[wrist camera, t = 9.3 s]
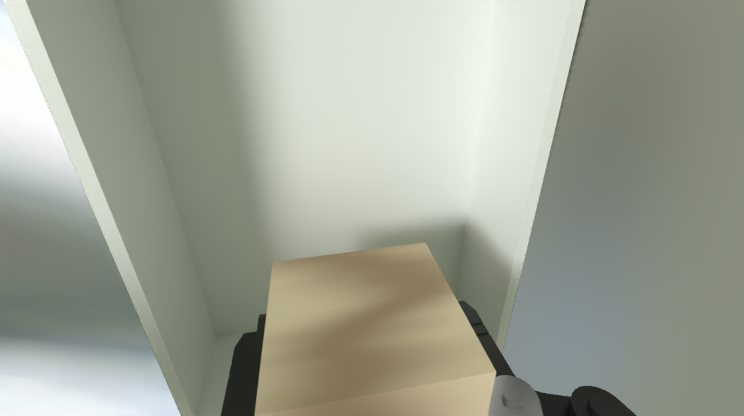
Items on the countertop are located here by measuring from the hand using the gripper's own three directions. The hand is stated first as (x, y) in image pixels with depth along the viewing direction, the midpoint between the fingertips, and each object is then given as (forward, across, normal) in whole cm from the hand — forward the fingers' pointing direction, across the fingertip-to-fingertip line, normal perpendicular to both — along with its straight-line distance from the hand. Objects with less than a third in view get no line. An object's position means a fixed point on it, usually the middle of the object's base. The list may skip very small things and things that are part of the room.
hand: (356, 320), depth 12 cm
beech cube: (0, 0, 0) cm, 0 cm away
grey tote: (+5, 0, -4) cm, 6 cm away
